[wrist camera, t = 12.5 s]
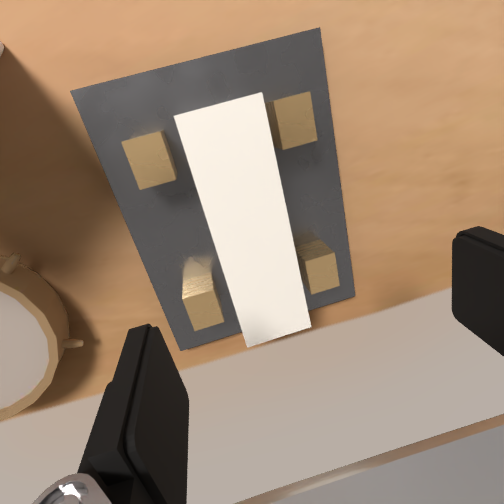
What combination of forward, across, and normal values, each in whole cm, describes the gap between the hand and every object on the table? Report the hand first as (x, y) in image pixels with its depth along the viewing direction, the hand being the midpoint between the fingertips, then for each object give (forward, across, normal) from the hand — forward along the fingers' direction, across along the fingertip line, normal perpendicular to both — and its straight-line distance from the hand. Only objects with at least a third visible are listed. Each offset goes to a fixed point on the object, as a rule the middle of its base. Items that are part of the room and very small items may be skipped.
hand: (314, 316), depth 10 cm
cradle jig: (+14, +1, 0) cm, 14 cm away
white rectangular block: (+12, +1, 0) cm, 13 cm away
